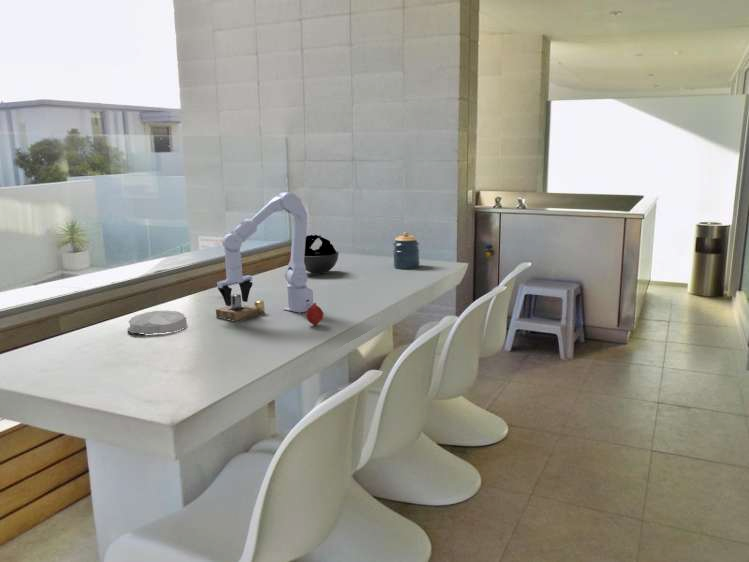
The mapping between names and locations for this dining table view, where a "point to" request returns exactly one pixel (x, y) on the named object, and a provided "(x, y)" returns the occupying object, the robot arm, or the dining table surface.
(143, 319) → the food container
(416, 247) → the canister
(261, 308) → the brass pin short
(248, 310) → the collar block
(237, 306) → the steel pin long
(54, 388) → the dining table surface
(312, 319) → the onion
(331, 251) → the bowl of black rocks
